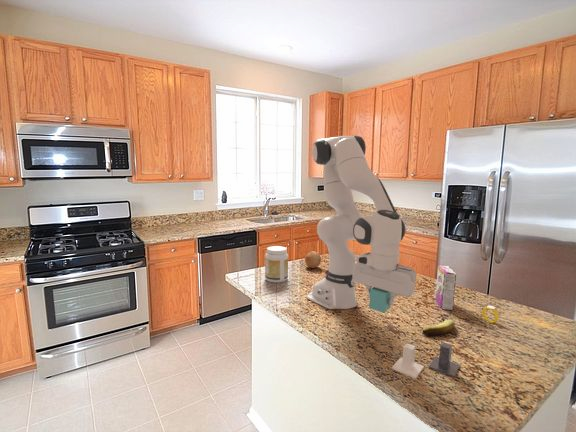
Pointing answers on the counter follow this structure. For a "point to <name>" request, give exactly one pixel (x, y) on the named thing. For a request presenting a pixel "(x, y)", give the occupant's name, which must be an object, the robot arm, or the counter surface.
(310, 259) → the brown round ball
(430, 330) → the banana
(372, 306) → the teal rectangular block
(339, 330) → the counter surface
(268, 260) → the supplement tub
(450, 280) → the candy bar box
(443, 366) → the post
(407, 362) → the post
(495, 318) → the watch
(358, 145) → the robot arm
